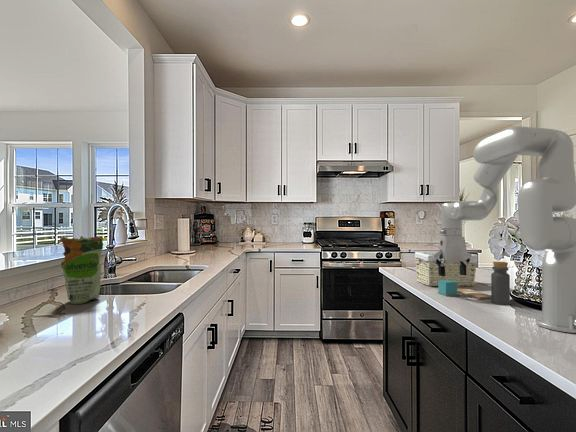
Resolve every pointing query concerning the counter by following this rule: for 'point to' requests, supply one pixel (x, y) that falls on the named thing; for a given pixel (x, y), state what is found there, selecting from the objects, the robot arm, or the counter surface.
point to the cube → (447, 287)
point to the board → (473, 293)
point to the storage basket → (430, 275)
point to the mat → (450, 295)
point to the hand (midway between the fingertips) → (452, 275)
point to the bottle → (500, 284)
